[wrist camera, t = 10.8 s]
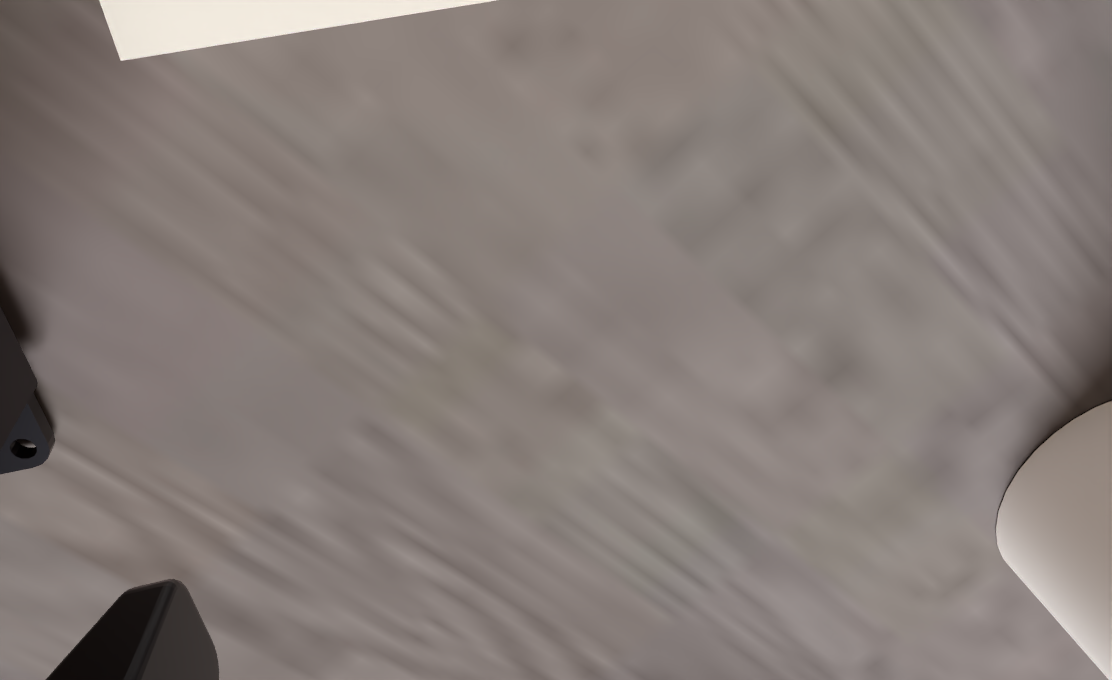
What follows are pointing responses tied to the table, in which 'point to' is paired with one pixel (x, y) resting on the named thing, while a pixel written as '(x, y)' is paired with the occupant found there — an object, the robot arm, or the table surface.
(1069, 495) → the cylindrical container
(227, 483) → the table surface
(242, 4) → the socket
